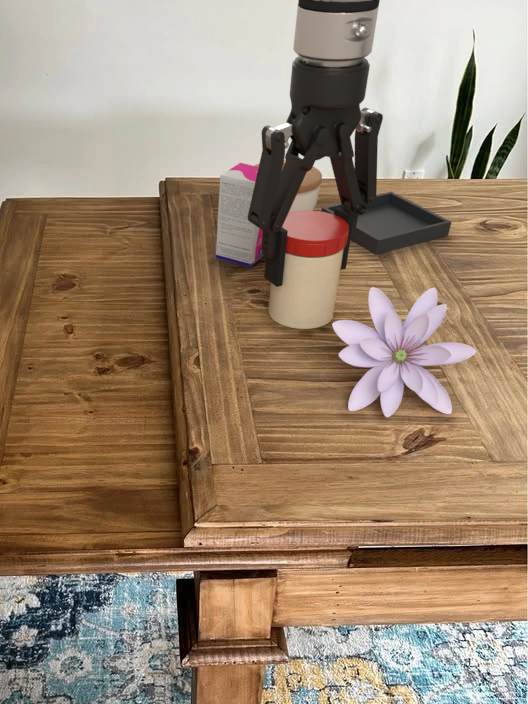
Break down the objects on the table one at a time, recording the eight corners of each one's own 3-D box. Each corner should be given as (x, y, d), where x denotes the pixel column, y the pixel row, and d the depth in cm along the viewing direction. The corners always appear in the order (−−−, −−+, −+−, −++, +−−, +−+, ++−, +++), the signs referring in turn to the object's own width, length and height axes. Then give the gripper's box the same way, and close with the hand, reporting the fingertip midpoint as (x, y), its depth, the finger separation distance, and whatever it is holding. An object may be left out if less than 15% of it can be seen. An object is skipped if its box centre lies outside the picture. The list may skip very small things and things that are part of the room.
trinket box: (274, 247, 104) (280, 180, 98) (229, 222, 111) (231, 158, 104) (330, 229, 108) (339, 164, 102) (283, 206, 115) (289, 143, 109)
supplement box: (252, 268, 99) (258, 183, 91) (214, 259, 101) (216, 174, 94) (271, 252, 103) (278, 168, 95) (233, 243, 105) (237, 161, 97)
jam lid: (361, 247, 83) (364, 231, 81) (299, 263, 80) (301, 246, 79) (317, 221, 88) (319, 205, 87) (258, 234, 85) (259, 219, 84)
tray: (448, 235, 106) (451, 221, 105) (375, 254, 102) (378, 240, 100) (388, 204, 115) (391, 191, 114) (319, 221, 111) (321, 207, 109)
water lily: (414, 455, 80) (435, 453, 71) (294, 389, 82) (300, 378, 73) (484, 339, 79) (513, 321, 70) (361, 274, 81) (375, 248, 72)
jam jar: (346, 319, 89) (361, 235, 82) (291, 335, 86) (301, 249, 79) (308, 291, 94) (318, 210, 87) (255, 306, 92) (262, 223, 84)
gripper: (260, 80, 65) (245, 307, 81) (441, 52, 72) (396, 266, 88) (218, 62, 70) (212, 279, 86) (391, 37, 77) (357, 242, 93)
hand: (305, 272), depth 87 cm, fingers closed on jam lid, 8 cm apart
